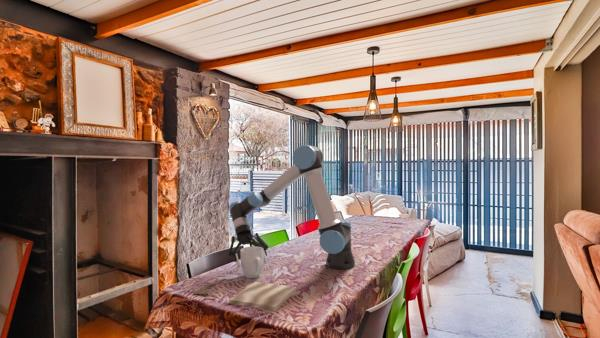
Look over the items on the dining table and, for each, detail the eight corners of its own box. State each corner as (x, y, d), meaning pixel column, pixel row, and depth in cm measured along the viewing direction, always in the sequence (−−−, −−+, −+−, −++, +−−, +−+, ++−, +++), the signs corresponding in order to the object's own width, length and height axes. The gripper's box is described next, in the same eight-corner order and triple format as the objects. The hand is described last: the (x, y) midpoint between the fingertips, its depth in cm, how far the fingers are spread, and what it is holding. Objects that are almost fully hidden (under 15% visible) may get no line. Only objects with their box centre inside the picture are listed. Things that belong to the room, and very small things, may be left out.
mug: (271, 279, 151) (271, 251, 151) (250, 284, 145) (249, 255, 145) (257, 270, 164) (257, 245, 163) (237, 275, 158) (236, 248, 157)
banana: (191, 300, 133) (190, 295, 133) (206, 282, 153) (206, 278, 153) (212, 297, 132) (211, 292, 132) (225, 279, 153) (224, 275, 153)
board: (296, 290, 137) (296, 286, 137) (275, 310, 118) (275, 306, 118) (255, 284, 144) (255, 281, 144) (229, 303, 126) (229, 299, 126)
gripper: (262, 229, 176) (274, 264, 163) (216, 235, 164) (225, 273, 151) (266, 221, 171) (278, 256, 158) (219, 226, 159) (228, 265, 146)
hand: (252, 264), depth 154 cm, fingers open, 13 cm apart
